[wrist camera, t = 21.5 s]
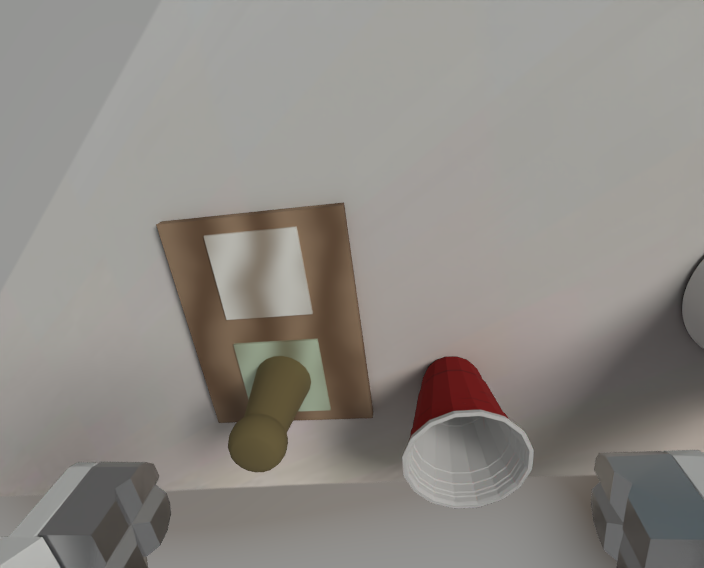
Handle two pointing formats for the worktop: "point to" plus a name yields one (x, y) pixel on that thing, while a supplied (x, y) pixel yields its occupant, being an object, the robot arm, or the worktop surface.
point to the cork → (269, 414)
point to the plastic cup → (463, 440)
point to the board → (272, 304)
